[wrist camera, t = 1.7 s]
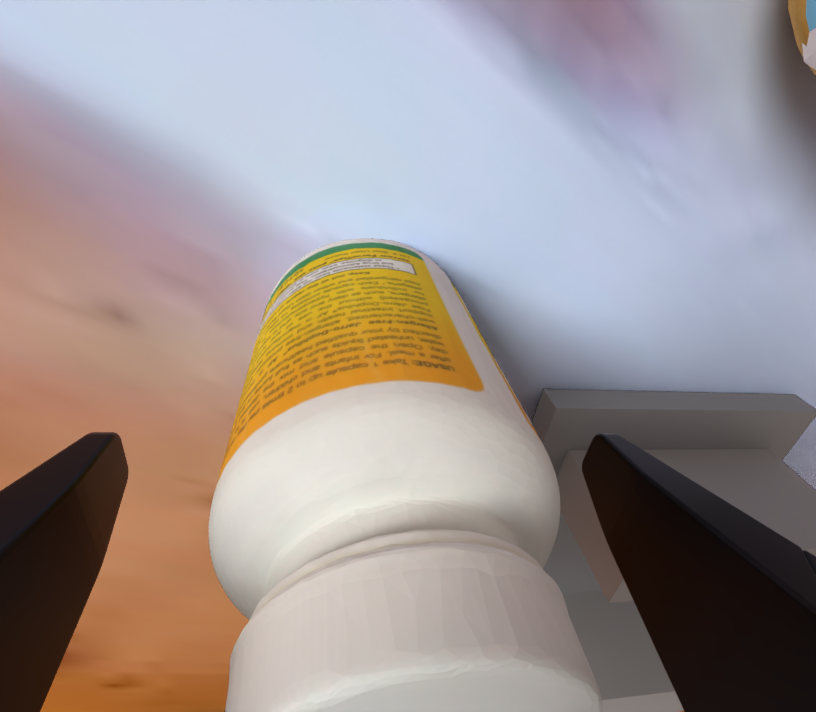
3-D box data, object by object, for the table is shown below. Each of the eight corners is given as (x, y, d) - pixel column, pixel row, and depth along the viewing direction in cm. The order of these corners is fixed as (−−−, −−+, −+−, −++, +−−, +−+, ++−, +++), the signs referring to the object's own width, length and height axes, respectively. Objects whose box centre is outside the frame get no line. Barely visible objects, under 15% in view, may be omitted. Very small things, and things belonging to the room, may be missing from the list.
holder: (643, 608, 24) (710, 723, 20) (461, 623, 22) (492, 753, 18) (794, 394, 17) (948, 503, 13) (543, 388, 15) (627, 515, 11)
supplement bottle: (496, 311, 13) (761, 697, 5) (376, 428, 15) (433, 858, 7) (347, 183, 11) (404, 538, 3) (223, 341, 12) (31, 852, 4)
